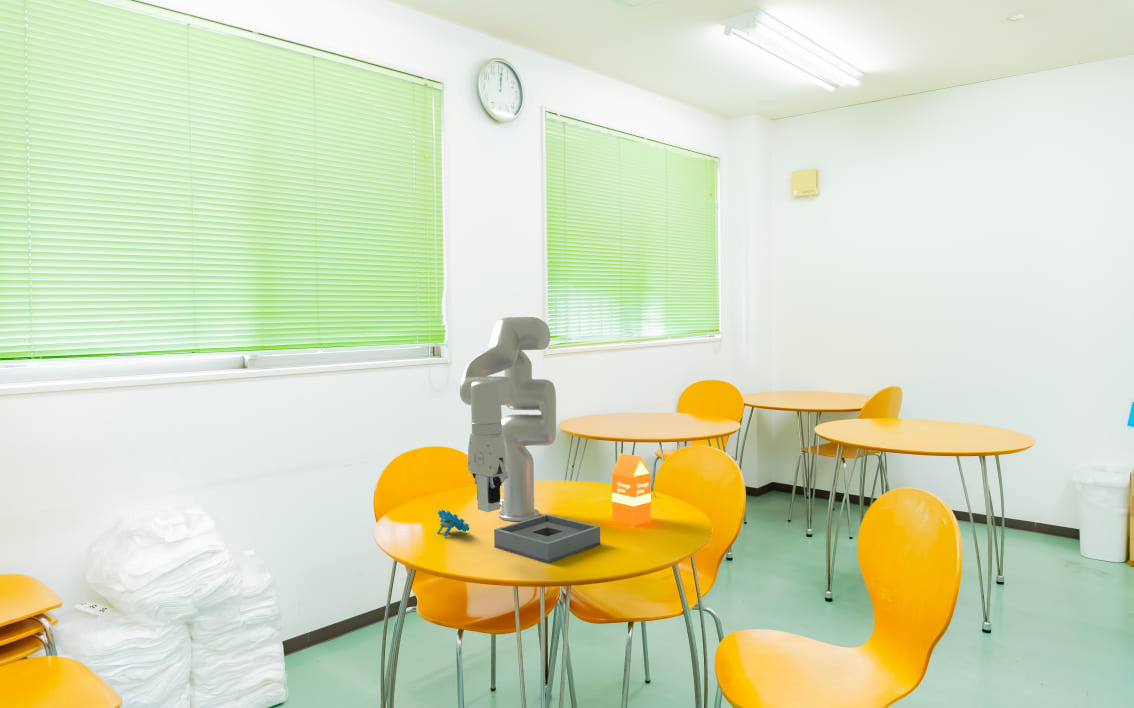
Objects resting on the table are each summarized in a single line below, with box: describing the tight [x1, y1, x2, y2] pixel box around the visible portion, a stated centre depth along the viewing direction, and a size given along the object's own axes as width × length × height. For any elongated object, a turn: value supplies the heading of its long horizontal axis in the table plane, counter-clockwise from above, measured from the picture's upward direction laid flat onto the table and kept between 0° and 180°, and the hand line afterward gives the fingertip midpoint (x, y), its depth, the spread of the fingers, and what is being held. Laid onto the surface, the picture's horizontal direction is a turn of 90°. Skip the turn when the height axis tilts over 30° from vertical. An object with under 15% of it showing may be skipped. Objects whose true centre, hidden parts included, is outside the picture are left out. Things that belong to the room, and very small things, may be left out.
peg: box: [476, 474, 501, 513], centre depth 179 cm, size 4×4×9 cm
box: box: [493, 513, 601, 565], centre depth 189 cm, size 20×20×5 cm
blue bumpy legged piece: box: [436, 509, 471, 538], centre depth 200 cm, size 11×6×10 cm
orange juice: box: [611, 453, 652, 527], centre depth 212 cm, size 8×9×20 cm
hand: (488, 500), depth 179 cm, fingers closed on peg, 4 cm apart
